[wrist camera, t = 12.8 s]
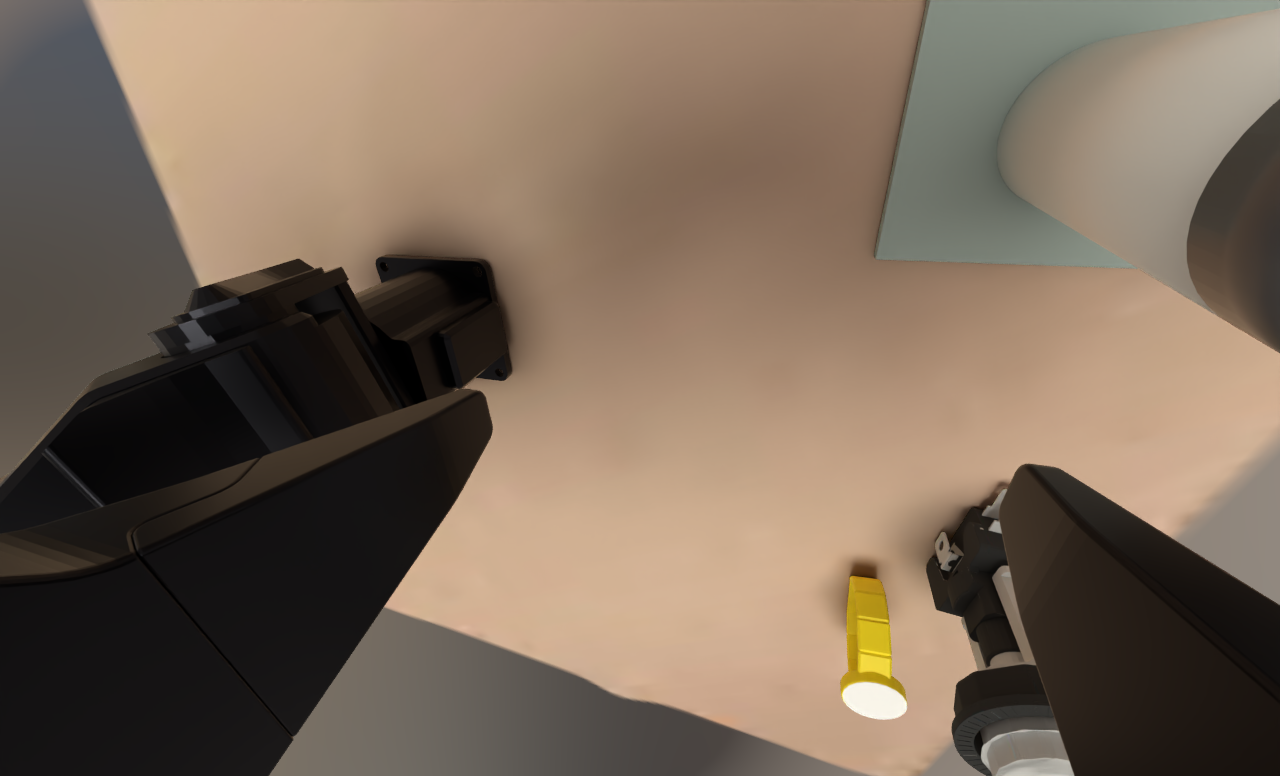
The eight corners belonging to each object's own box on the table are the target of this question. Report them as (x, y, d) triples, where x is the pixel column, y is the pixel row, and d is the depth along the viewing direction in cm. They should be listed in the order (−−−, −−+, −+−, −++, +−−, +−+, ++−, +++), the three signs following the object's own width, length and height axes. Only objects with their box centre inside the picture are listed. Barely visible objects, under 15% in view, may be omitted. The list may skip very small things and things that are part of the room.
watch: (837, 552, 26) (844, 649, 21) (893, 559, 25) (915, 662, 20) (832, 627, 28) (838, 731, 23) (883, 636, 28) (901, 746, 22)
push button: (944, 467, 21) (1031, 697, 13) (1081, 498, 20) (1269, 769, 12) (892, 563, 25) (935, 790, 17) (1006, 593, 24) (1111, 853, 15)
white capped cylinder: (964, 181, 15) (1180, 337, 6) (1069, 14, 13) (1762, -191, 3) (1104, 227, 15) (1593, 483, 5) (1244, 62, 12) (2706, -17, 3)
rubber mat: (873, 255, 18) (875, 259, 17) (931, -22, 14) (935, -26, 13) (1215, 266, 15) (1229, 271, 15) (1411, -74, 11) (1439, -82, 11)
